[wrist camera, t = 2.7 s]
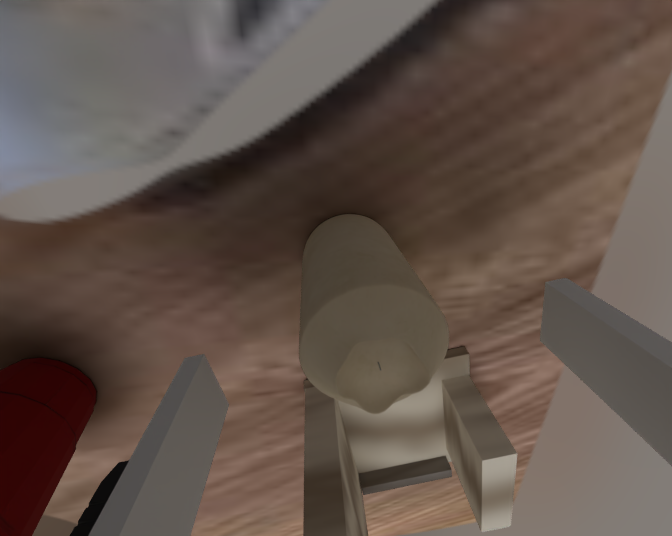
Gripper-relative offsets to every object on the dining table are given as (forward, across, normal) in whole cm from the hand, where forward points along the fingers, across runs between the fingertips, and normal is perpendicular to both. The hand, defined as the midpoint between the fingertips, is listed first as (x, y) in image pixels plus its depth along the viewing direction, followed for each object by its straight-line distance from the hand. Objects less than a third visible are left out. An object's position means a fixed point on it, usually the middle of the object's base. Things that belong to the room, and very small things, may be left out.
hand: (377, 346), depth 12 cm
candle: (+8, 0, +1) cm, 8 cm away
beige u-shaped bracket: (+8, +1, -14) cm, 17 cm away
